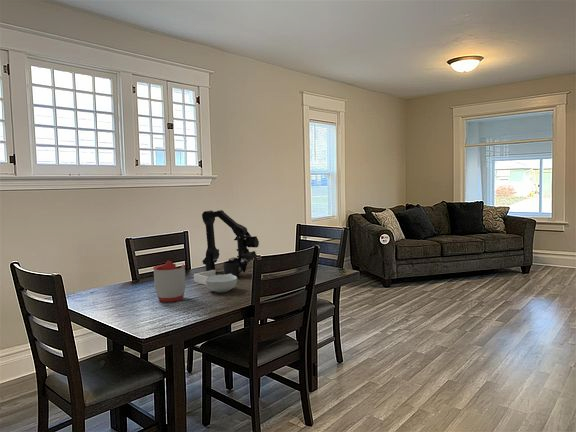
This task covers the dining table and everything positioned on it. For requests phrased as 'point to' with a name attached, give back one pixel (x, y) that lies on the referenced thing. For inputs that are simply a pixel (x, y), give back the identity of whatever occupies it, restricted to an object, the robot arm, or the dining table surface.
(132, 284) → the dining table surface
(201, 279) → the tray
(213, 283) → the cereal bowl
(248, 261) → the robot arm
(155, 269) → the citrus juicer
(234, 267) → the mug
